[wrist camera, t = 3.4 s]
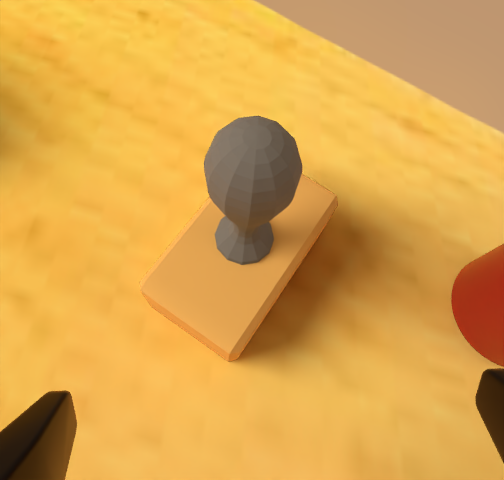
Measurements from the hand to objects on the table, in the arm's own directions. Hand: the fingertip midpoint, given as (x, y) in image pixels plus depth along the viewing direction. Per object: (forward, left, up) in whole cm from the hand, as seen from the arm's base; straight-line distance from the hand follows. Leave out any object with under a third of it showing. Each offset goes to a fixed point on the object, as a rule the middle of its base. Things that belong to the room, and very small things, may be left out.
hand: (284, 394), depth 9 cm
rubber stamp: (0, +7, -13) cm, 15 cm away
